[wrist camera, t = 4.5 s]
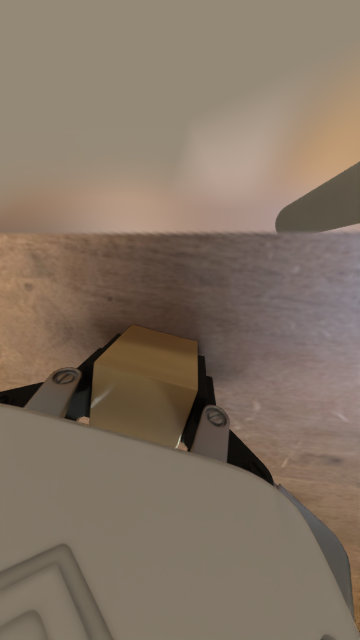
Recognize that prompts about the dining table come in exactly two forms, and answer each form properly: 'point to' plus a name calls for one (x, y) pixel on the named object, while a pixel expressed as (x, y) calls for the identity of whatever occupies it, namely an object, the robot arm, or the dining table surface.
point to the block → (145, 385)
